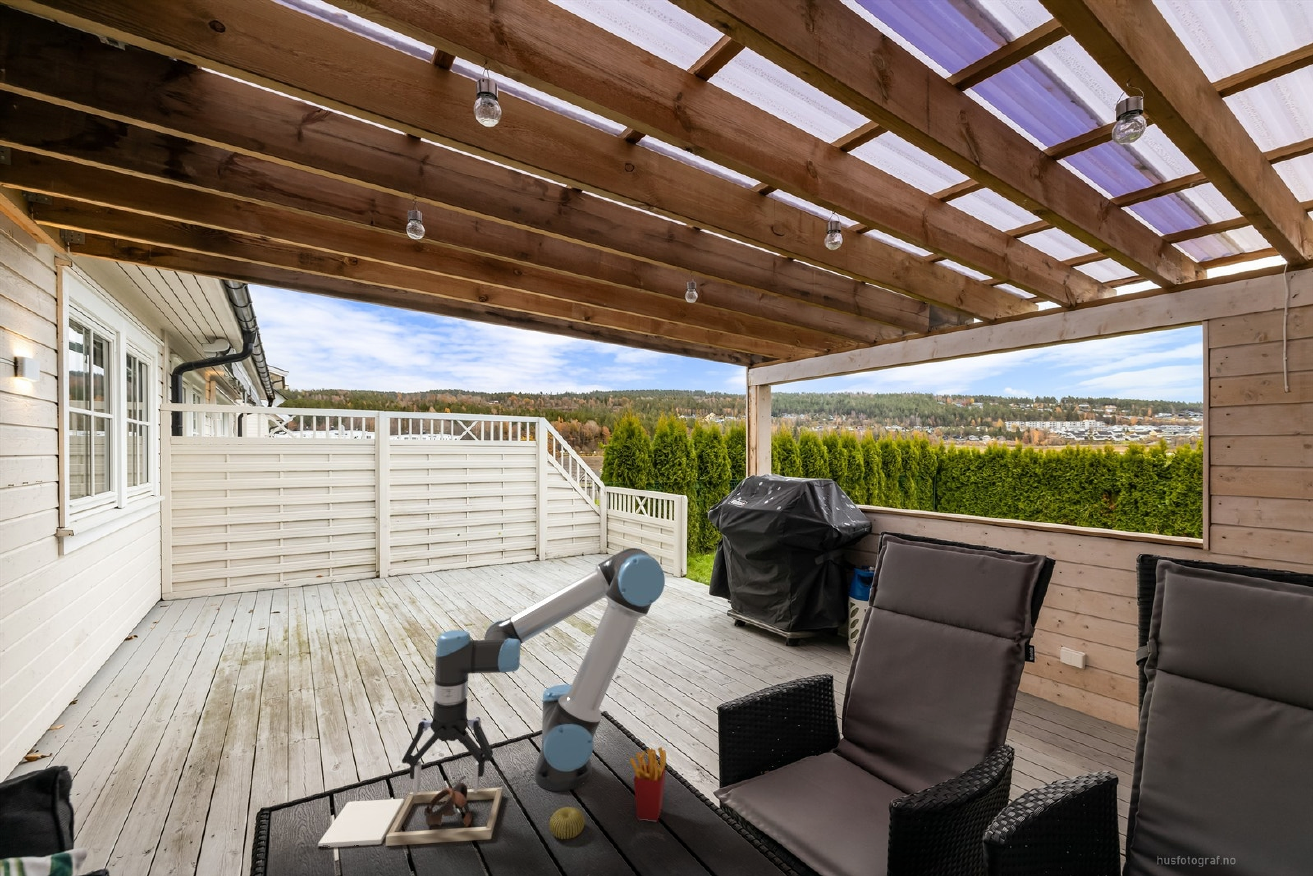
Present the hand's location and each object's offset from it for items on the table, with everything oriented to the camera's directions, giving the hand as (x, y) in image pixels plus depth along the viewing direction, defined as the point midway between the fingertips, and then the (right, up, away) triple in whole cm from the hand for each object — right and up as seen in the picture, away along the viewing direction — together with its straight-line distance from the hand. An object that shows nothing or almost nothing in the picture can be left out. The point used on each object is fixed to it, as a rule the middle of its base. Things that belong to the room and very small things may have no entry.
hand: (446, 791), depth 133 cm
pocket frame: (0, -6, 0) cm, 6 cm away
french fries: (+47, -7, +3) cm, 48 cm away
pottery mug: (+1, -7, -1) cm, 7 cm away
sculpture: (+29, -7, -4) cm, 30 cm away
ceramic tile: (-19, -6, -2) cm, 20 cm away
